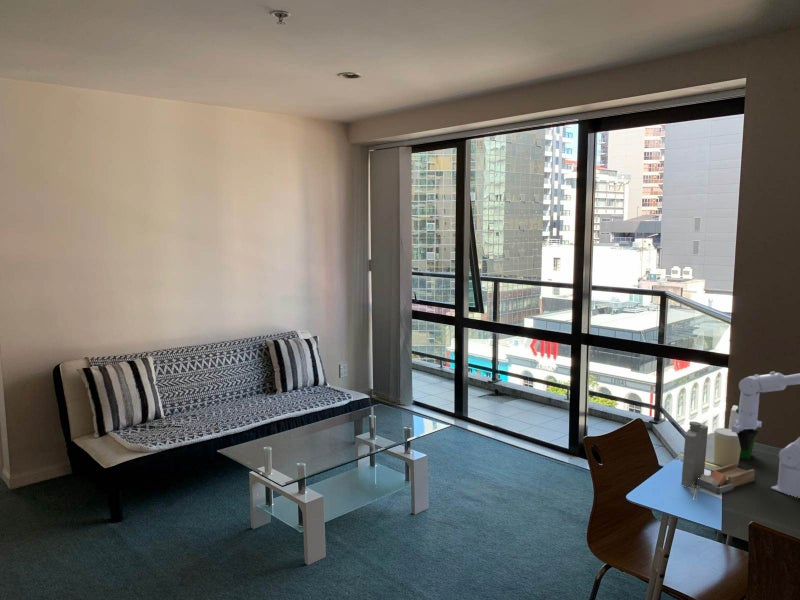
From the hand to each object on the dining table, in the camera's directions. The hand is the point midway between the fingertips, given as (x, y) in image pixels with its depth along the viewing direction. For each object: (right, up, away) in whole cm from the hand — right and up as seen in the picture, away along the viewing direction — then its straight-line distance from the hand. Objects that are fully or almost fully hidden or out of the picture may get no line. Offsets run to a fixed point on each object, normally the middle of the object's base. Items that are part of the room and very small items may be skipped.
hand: (744, 449), depth 204 cm
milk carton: (+11, -8, +23) cm, 27 cm away
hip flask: (-19, -10, -2) cm, 22 cm away
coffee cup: (+1, -9, +13) cm, 16 cm away
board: (-5, -10, -2) cm, 12 cm away
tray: (-15, -11, -8) cm, 20 cm away
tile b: (-16, -7, -9) cm, 20 cm away
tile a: (-13, -9, -6) cm, 16 cm away
